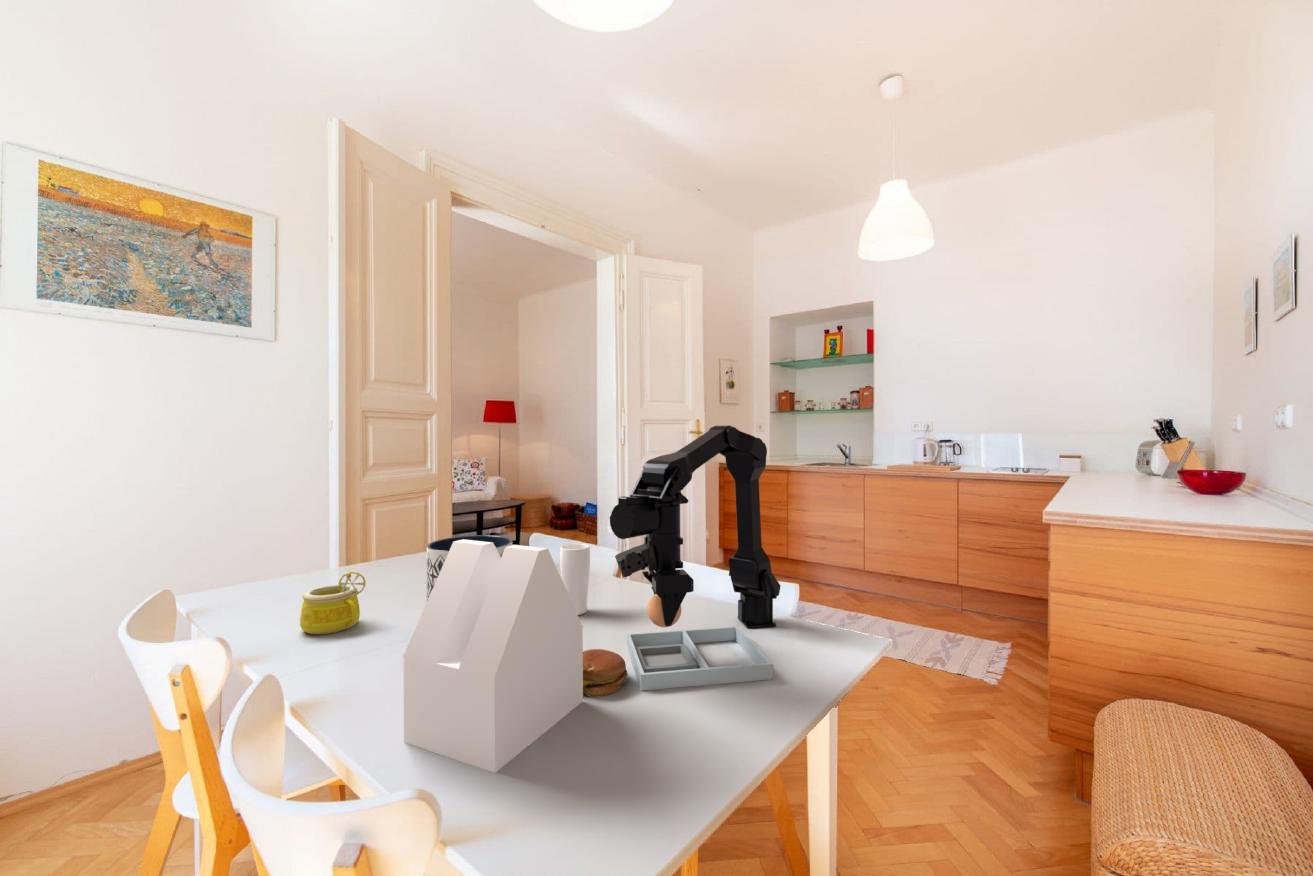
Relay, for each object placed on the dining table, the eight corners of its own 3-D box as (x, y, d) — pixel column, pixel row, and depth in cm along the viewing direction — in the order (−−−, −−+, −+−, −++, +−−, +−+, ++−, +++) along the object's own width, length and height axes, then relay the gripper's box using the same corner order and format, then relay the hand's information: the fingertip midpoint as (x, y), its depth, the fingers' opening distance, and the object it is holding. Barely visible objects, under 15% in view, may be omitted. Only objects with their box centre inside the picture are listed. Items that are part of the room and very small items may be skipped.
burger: (622, 669, 94) (622, 642, 94) (630, 694, 85) (630, 664, 85) (564, 674, 92) (564, 647, 92) (566, 701, 83) (566, 670, 83)
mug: (286, 633, 111) (286, 575, 111) (336, 616, 121) (335, 563, 121) (330, 642, 106) (330, 581, 106) (378, 624, 116) (378, 568, 116)
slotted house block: (494, 773, 65) (494, 565, 65) (403, 743, 71) (403, 553, 71) (582, 702, 82) (582, 537, 82) (503, 682, 89) (502, 530, 89)
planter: (529, 611, 124) (529, 540, 124) (463, 637, 109) (463, 555, 109) (477, 599, 134) (476, 532, 134) (409, 620, 118) (408, 545, 118)
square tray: (684, 651, 101) (684, 643, 101) (697, 673, 92) (697, 665, 92) (633, 655, 99) (633, 647, 99) (641, 678, 90) (641, 669, 90)
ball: (677, 619, 99) (677, 586, 99) (684, 631, 93) (684, 596, 93) (644, 621, 98) (644, 588, 98) (650, 633, 92) (650, 598, 92)
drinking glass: (593, 608, 126) (592, 543, 126) (586, 617, 120) (586, 550, 120) (564, 607, 127) (564, 543, 127) (556, 617, 120) (556, 549, 120)
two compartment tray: (737, 638, 107) (737, 626, 107) (772, 679, 90) (772, 664, 90) (626, 646, 103) (626, 633, 103) (640, 690, 86) (640, 674, 86)
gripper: (613, 523, 103) (613, 605, 103) (624, 543, 85) (625, 643, 85) (670, 521, 105) (670, 602, 105) (694, 540, 87) (694, 638, 87)
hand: (664, 619), depth 95 cm, fingers closed on ball, 6 cm apart
